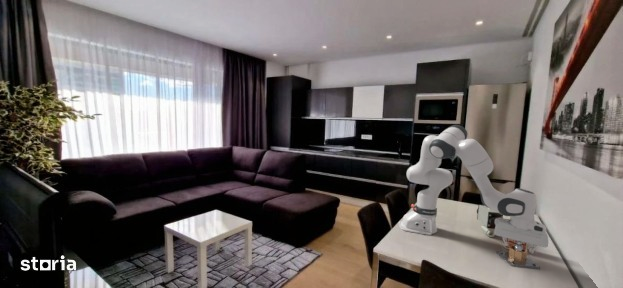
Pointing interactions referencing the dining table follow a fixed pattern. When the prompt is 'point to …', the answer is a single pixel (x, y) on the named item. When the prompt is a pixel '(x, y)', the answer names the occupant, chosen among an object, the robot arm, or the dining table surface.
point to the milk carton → (513, 242)
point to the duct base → (515, 263)
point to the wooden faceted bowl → (517, 254)
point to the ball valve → (487, 219)
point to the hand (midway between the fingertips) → (518, 249)
